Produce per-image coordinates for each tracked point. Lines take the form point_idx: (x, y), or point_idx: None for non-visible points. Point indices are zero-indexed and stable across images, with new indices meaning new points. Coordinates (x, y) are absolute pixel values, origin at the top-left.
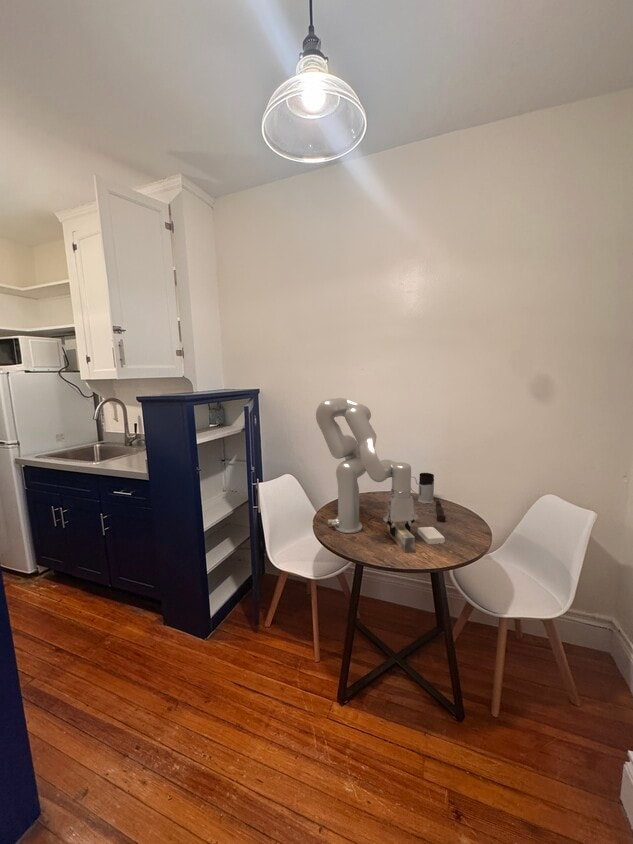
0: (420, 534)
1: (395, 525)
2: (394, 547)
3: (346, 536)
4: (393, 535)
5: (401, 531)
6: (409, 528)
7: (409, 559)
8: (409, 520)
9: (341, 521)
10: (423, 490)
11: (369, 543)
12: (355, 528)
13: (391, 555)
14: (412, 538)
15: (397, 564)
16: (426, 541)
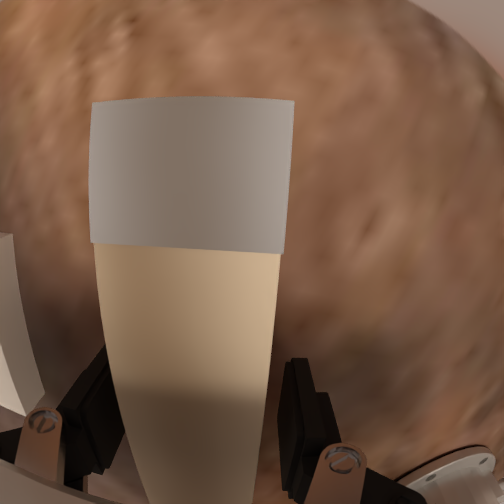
0: (28, 364)
1: (230, 486)
2: (321, 253)
3: (498, 422)
4: (307, 368)
5: (225, 358)
6: (76, 390)
7: (283, 23)
8: (10, 473)
9: (496, 497)
10: None
11: (461, 349)
12: (436, 481)
13: (413, 130)
14: (140, 100)
15: (413, 6)
16: (11, 267)
